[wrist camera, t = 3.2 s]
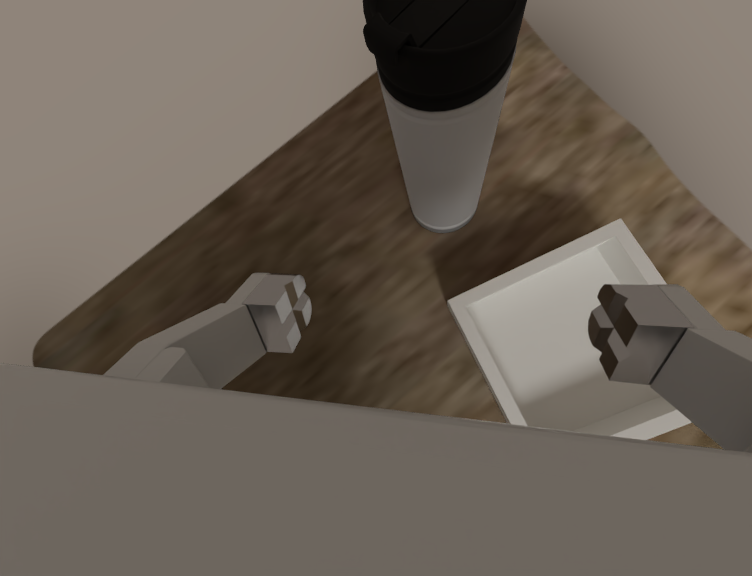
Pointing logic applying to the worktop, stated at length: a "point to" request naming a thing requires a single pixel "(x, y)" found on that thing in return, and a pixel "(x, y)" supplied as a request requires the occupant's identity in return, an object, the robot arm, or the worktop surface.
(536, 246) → the worktop surface
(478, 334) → the tray
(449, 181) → the travel mug
